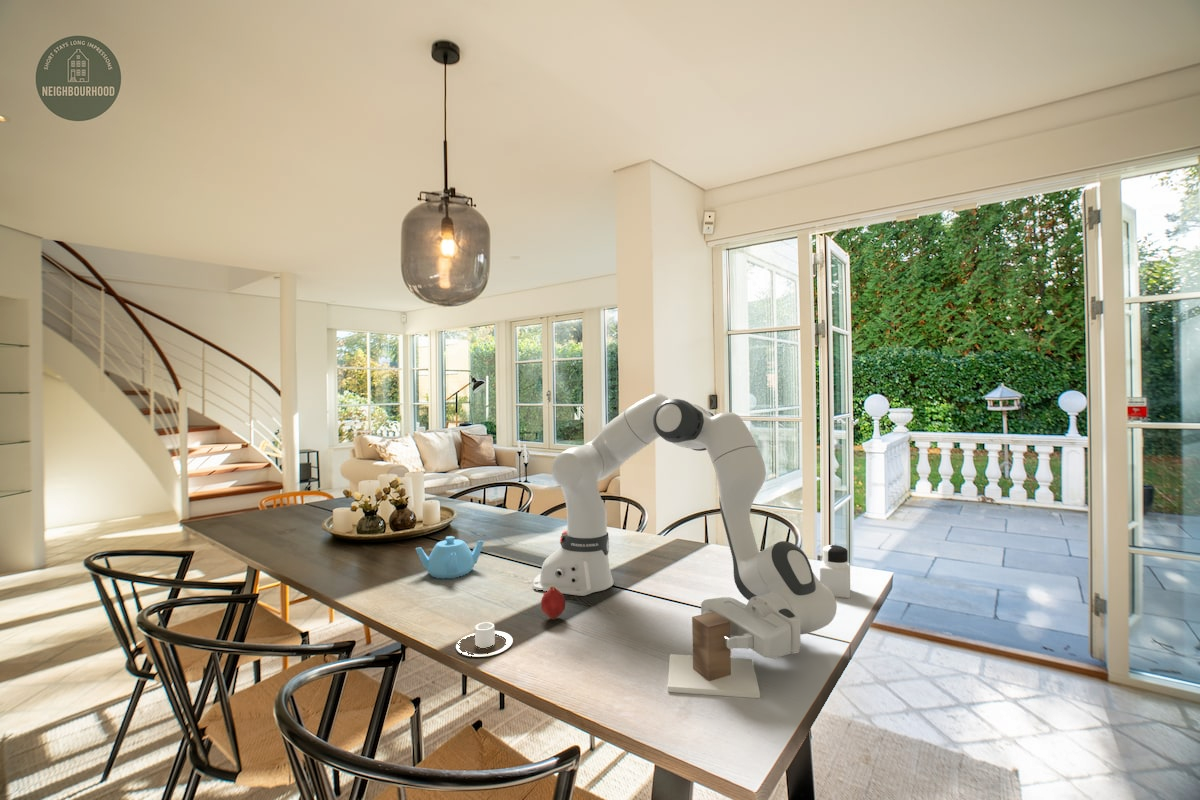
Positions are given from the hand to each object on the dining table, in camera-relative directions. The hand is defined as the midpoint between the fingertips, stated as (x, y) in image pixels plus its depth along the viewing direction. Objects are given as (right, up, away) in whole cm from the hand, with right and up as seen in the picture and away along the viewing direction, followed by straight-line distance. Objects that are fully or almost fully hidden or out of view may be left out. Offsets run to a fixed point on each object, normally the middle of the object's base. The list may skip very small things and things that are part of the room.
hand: (709, 632), depth 102 cm
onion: (-32, -9, +28) cm, 43 cm away
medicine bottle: (+41, -7, +41) cm, 59 cm away
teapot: (-66, -9, +63) cm, 91 cm away
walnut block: (0, -8, 0) cm, 8 cm away
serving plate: (0, -9, 0) cm, 9 cm away
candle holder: (-45, -10, +15) cm, 49 cm away
